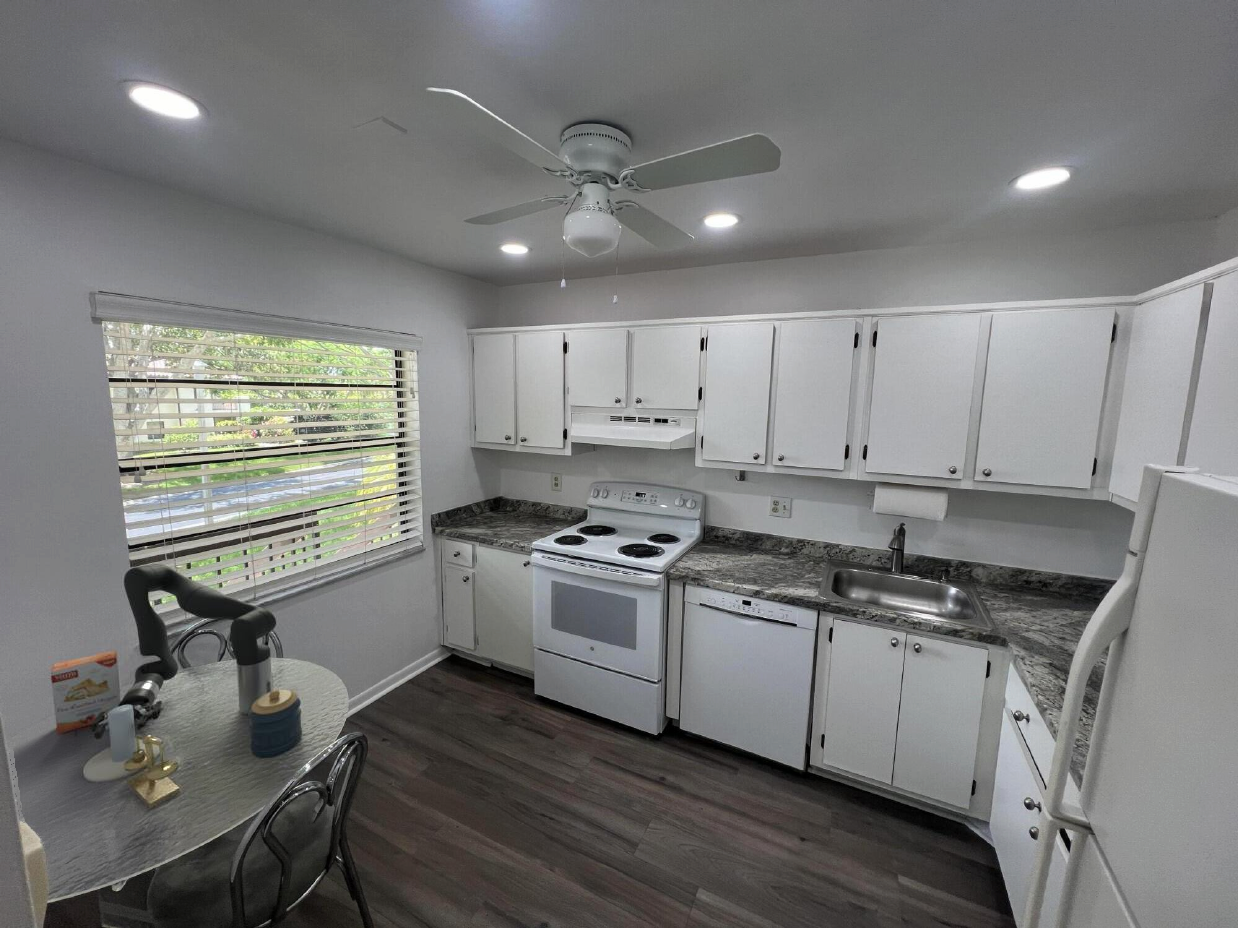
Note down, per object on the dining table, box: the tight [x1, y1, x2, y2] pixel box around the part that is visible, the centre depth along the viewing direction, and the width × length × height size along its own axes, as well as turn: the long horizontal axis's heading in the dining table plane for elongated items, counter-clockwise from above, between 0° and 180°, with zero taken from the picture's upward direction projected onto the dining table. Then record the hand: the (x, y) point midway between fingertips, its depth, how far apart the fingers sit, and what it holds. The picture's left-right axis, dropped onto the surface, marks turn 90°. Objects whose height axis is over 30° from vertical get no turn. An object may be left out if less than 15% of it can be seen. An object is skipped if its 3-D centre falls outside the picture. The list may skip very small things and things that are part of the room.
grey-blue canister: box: [108, 705, 137, 762], centre depth 140 cm, size 5×5×14 cm
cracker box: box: [50, 650, 123, 735], centre depth 154 cm, size 14×6×21 cm, turn 133°
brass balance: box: [124, 733, 180, 810], centre depth 131 cm, size 22×6×17 cm, turn 61°
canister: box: [248, 689, 303, 759], centre depth 149 cm, size 13×13×18 cm
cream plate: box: [82, 736, 164, 784], centre depth 141 cm, size 16×16×2 cm
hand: (118, 731), depth 138 cm, fingers open, 8 cm apart
